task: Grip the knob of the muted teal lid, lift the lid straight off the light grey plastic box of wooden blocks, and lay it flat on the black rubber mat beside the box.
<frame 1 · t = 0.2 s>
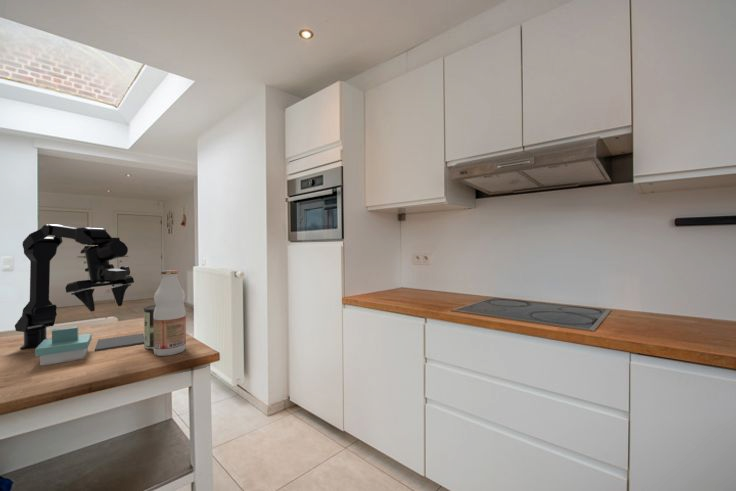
hand: (107, 308, 107), 15 cm above the table, tool pointing down, fingers open, 9 cm apart
box: (65, 357, 103), on the table
mat: (121, 342, 119), on the table
coffee can: (161, 345, 116), on the table
lid: (65, 347, 103), point 3 cm above the table, touching box
fruit juice: (170, 352, 108), on the table
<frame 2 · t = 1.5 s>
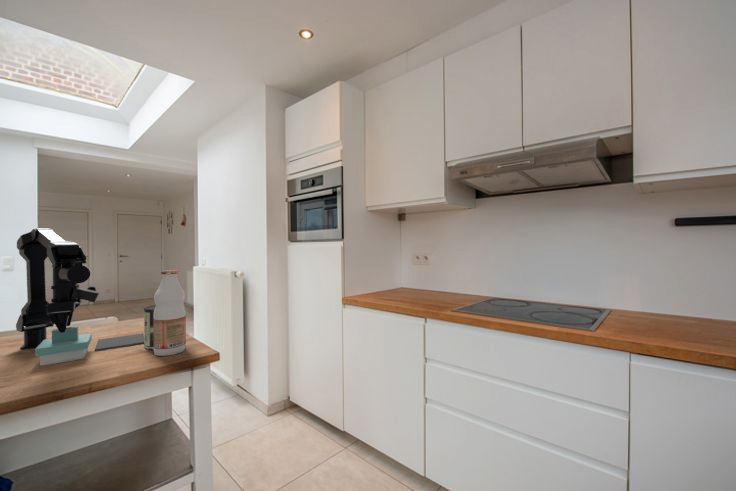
hand: (65, 329, 103), 9 cm above the table, tool pointing down, fingers open, 9 cm apart
nothing on the table moved.
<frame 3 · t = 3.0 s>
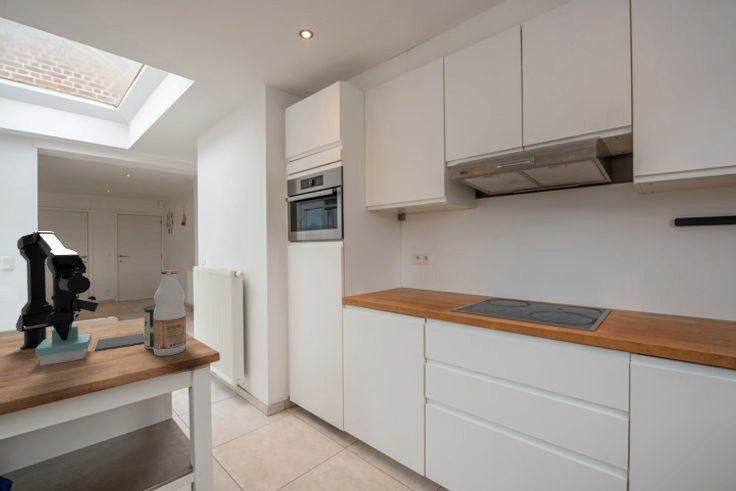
hand: (65, 339, 103), 6 cm above the table, tool pointing down, fingers closed on lid, 2 cm apart
lid: (65, 347, 103), point 3 cm above the table, touching box, gripper
everything else where it was.
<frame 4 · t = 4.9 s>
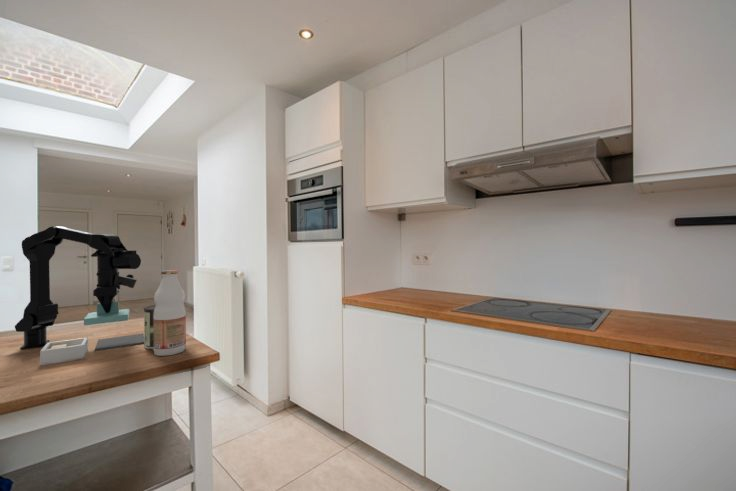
hand: (108, 312, 114), 12 cm above the table, tool pointing down, fingers closed on lid, 2 cm apart
lid: (108, 319, 114), point 10 cm above the table, touching gripper
everything else where it was.
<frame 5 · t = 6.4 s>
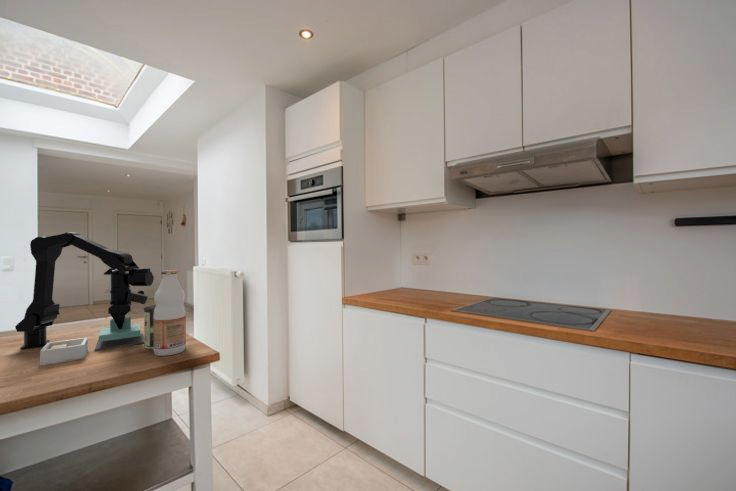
hand: (120, 327, 119), 6 cm above the table, tool pointing down, fingers closed on lid, 2 cm apart
lid: (120, 334, 119), point 3 cm above the table, touching gripper
everything else where it was.
when the fingers open (5 cm above the table, at t = 7.2 s): lid drops 1 cm, resting on mat.
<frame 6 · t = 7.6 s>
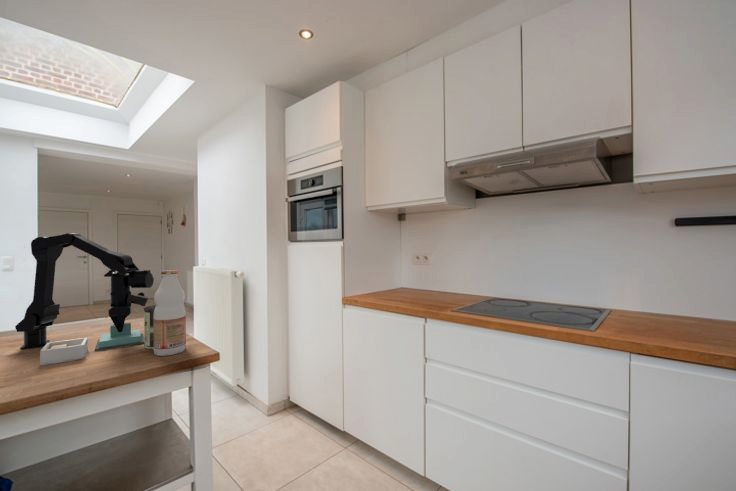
hand: (120, 329, 119), 5 cm above the table, tool pointing down, fingers open, 7 cm apart
lid: (120, 340, 119), point 1 cm above the table, touching mat
everything else where it was.
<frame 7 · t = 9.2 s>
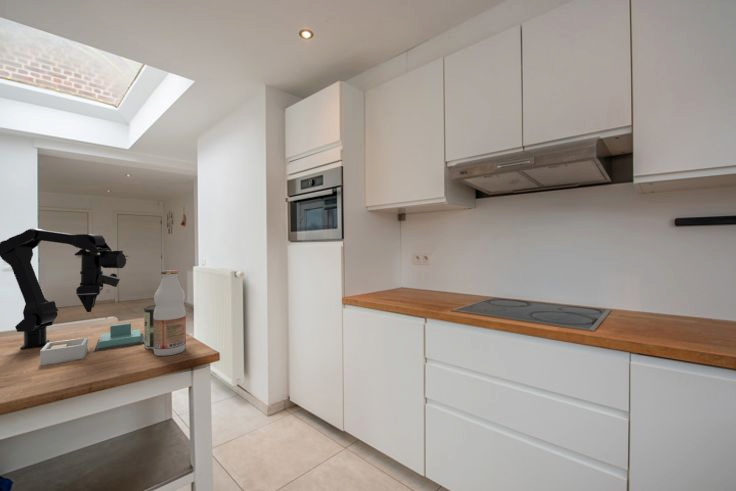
hand: (90, 309, 117), 13 cm above the table, tool pointing down, fingers open, 9 cm apart
nothing on the table moved.
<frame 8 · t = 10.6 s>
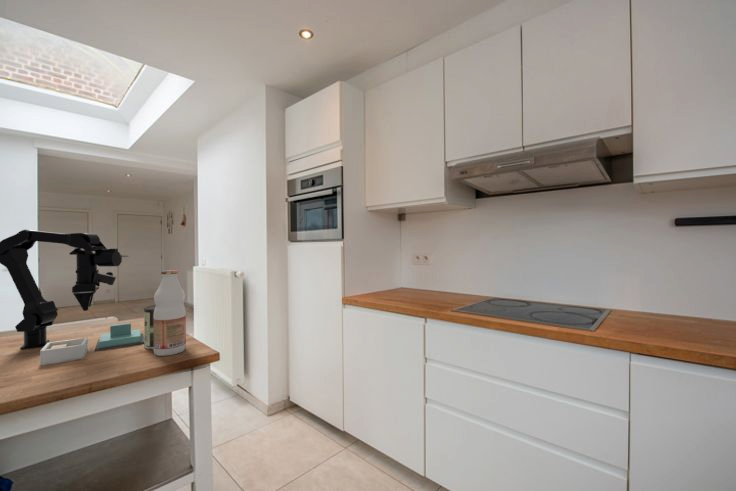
hand: (87, 308, 117), 13 cm above the table, tool pointing down, fingers open, 9 cm apart
nothing on the table moved.
at the end: lid 0.0 cm off-centre on the mat, point 0.6 cm above the mat's base; lid tilted 0°; the gripper is holding nothing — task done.
